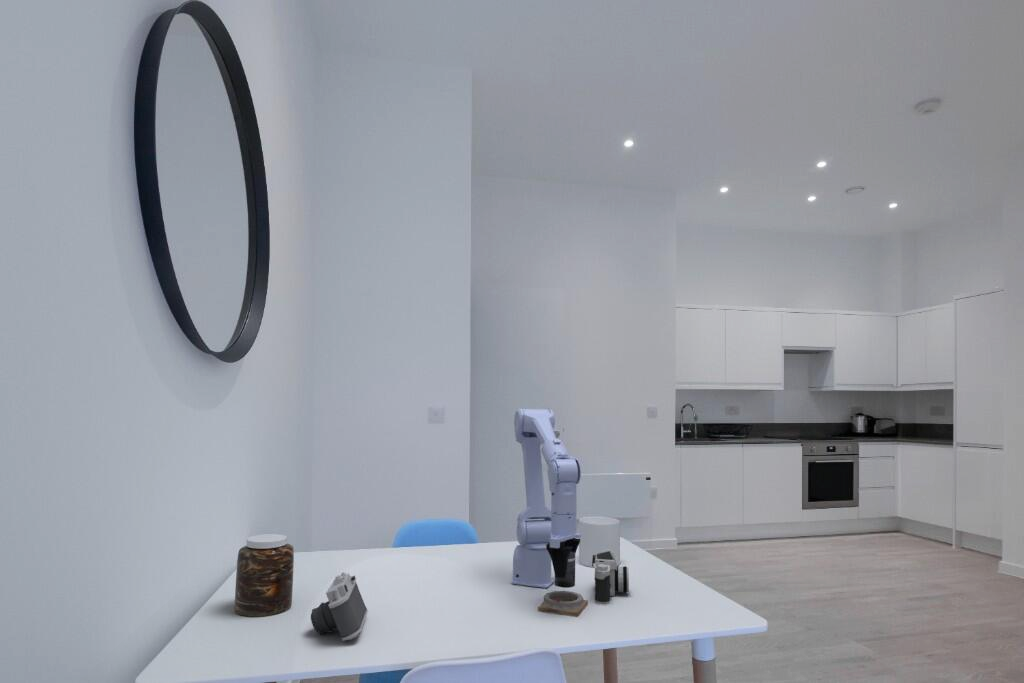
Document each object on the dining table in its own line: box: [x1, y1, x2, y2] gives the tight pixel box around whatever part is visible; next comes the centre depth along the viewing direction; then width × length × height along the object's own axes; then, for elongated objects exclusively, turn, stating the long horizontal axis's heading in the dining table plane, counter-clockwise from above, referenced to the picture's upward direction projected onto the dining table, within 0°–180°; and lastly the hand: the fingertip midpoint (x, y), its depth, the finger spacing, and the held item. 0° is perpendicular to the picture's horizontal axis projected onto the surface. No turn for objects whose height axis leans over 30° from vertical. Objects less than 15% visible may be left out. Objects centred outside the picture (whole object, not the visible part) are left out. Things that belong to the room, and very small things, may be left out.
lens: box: [553, 551, 577, 589], centre depth 137 cm, size 5×5×7 cm
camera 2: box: [592, 551, 630, 605], centre depth 147 cm, size 16×9×10 cm, turn 171°
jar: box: [234, 533, 295, 618], centre depth 134 cm, size 12×12×15 cm
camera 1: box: [310, 571, 369, 642], centre depth 121 cm, size 9×16×10 cm, turn 10°
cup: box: [578, 516, 621, 569], centre depth 176 cm, size 12×12×12 cm
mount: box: [537, 590, 589, 617], centre depth 136 cm, size 9×9×2 cm
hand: (563, 574), depth 137 cm, fingers closed on lens, 5 cm apart
